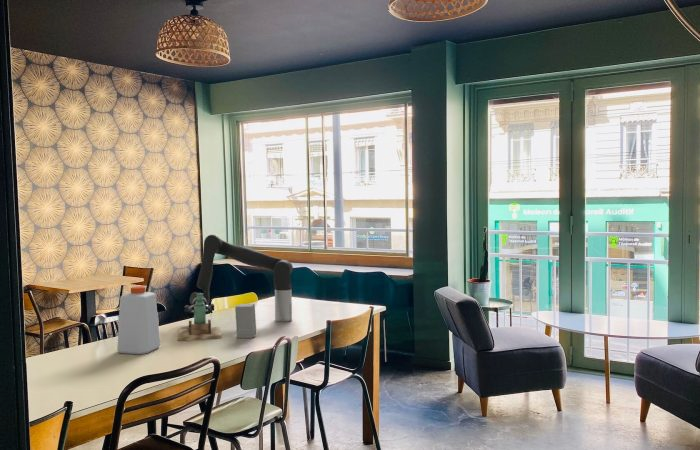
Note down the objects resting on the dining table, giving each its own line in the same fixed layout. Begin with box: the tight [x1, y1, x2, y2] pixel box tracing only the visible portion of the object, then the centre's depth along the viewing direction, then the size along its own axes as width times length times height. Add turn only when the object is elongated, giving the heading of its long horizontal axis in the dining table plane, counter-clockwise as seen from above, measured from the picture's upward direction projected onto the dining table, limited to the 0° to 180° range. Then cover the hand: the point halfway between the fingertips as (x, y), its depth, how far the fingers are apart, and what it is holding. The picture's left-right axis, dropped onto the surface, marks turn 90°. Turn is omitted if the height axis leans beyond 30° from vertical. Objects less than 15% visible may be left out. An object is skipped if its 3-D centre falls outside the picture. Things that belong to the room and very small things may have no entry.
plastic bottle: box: [116, 285, 161, 355], centre depth 241 cm, size 15×15×28 cm
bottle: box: [193, 292, 207, 324], centre depth 268 cm, size 6×6×19 cm
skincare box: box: [234, 303, 257, 339], centre depth 264 cm, size 8×7×16 cm
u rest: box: [177, 319, 223, 342], centre depth 268 cm, size 20×18×6 cm
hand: (199, 310), depth 266 cm, fingers open, 8 cm apart
